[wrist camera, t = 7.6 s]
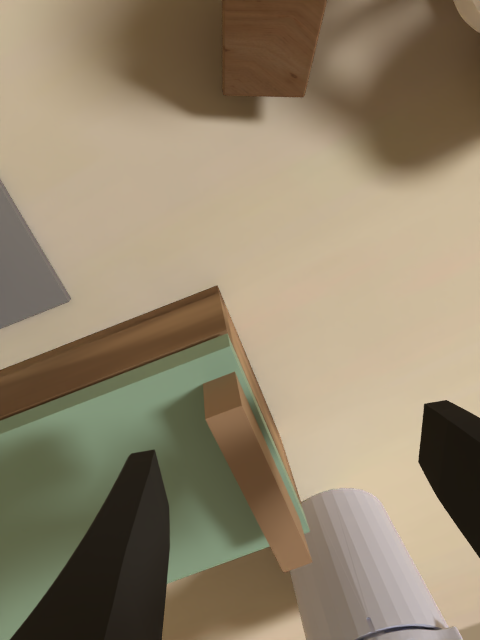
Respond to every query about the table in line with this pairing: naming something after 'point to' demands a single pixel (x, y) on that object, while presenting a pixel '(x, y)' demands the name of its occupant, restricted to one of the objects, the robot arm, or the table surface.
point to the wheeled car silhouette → (469, 12)
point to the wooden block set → (269, 46)
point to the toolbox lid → (175, 465)
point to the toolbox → (128, 356)
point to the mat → (24, 269)
